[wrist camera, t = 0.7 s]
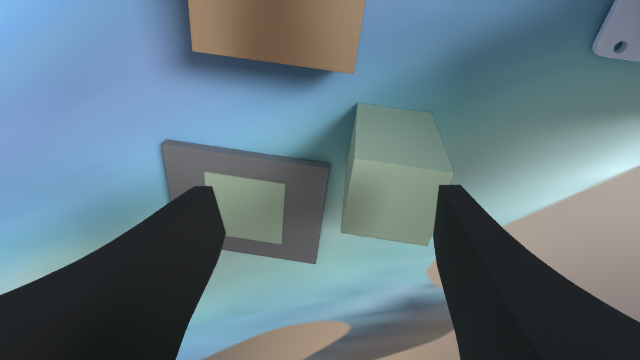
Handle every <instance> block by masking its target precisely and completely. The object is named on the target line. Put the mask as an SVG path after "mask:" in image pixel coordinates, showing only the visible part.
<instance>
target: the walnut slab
mask: <svg viewBox="0 0 640 360" xmlns="http://www.w3.org/2000/svg"><path fill="white" fill-rule="evenodd" d="M188 6H189V18H190V29H191V40H192V51H195V52H202V53H209V54H216V55H223V56H230V57H237V58H244V59H251V60H258V61H265V62H273V63H280V64H287V65H294V66H301V67H308V68H315V69H322V70H329V71H336V72H343V73H351V74H354V69H355V63H356V56H357V50H358V44H359V38H360V32H361V25H362V19H363V13H364V7H365V0H188Z"/></svg>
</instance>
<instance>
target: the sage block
mask: <svg viewBox="0 0 640 360" xmlns="http://www.w3.org/2000/svg"><path fill="white" fill-rule="evenodd" d="M453 176H454V170H453V168H452V165H451V162H450V160H449V157H448V154H447V151H446V149H445V146H444V143H443V141H442V138H441V135H440V133H439V130H438V127H437V124H436V122H435V119H434V116H433V114H432V113H428V112H421V111H414V110H407V109H400V108H393V107H386V106H379V105H372V104H365V103H358V104H357V109H356V115H355V121H354V127H353V132H352V138H351V144H350V150H349V155H348V161H347V168H346V180H345V191H344V202H343V213H342V225H341V233H345V234H352V235H358V236H365V237H372V238H378V239H385V240H391V241H398V242H404V243H411V244H417V245H424V246H428V243H429V240H430V238H431V235H432V232H433V230H434V224H435V215H436V206H437V198H438V189H439V185H450V184H451V181H452V179H453Z"/></svg>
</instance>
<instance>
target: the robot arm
mask: <svg viewBox="0 0 640 360" xmlns="http://www.w3.org/2000/svg"><path fill="white" fill-rule="evenodd" d="M620 41H622V46H621V47H620V48H619V49H618V50H616V51H614V50H613V49H614V46H615V45H616V44H617V43H619V42H620ZM592 49H593V52H594V53H595V54H597V55H599V56H601V57H607V58H614V59H622V60H629V61H636V62H640V0H615V1H614V3H613V5H612V7H611V9H610V11H609V13H608V15H607V17H606V19H605V21H604V23H603V25H602V27H601V29H600V31H599V33H598V35H597V37H596V39H595V41H594V43H593V46H592ZM225 236H226V231H225V228H224V224H223V221H222V217H221V214H220V211H219V207H218V204H217V200H216V197H215V193H214V190H213V187H212V186H194V187H192V188H191V189H189V190H187V191H186V192H184V193H183V194H181V195H180V196H178V197H177V198H175V199H174V200H173V201H171V202H170V203H168V204H167V205H165V206H164V207H163V208H161V209H160V210H158V211H157V212H155V213H154V214H153V215H151V216H150V217H148V218H147V219H145V220H144V221H142V222H141V223H139V224H138V225H136V226H135V227H133V228H132V229H130V230H129V231H127V232H125V233H124V234H122V235H121V236H119V237H118V238H116V239H115V240H113V241H111V242H110V243H108V244H106V245H105V246H103V247H101V248H99V249H98V250H96V251H94V252H92V253H90V254H89V255H87V256H85V257H83V258H81V259H79V260H77V261H75V262H74V263H72V264H69V265H67V266H65V267H63V268H61V269H59V270H57V271H55V272H53V273H50V274H48V275H46V276H44V277H42V278H40V279H38V280H36V281H33V282H31V283H29V284H26V285H24V286H22V287H19V288H17V289H14V290H12V291H9V292H7V293H4V294H2V295H0V360H176V357H177V354H178V351H179V348H180V345H181V343H182V340H183V337H184V334H185V331H186V329H187V326H188V324H189V322H190V319H191V317H192V315H193V313H194V311H195V309H196V306H197V304H198V302H199V300H200V298H201V296H202V294H203V292H204V290H205V287H206V285H207V283H208V281H209V279H210V277H211V275H212V272H213V270H214V268H215V266H216V264H217V261H218V259H219V256H220V253H221V249H222V246H223V243H224V239H225ZM433 239H434V247H435V255H436V261H437V267H438V270H439V274H440V278H441V282H442V286H443V290H444V293H445V297H446V301H447V304H448V308H449V312H450V315H451V319H452V323H453V326H454V330H455V334H456V338H457V343H458V348H459V354H460V359H461V360H640V322H638V321H636V320H634V319H632V318H630V317H629V316H627V315H625V314H623V313H622V312H620V311H618V310H616V309H615V308H613V307H611V306H609V305H608V304H606V303H604V302H602V301H601V300H599V299H598V298H596V297H594V296H593V295H591V294H590V293H588V292H587V291H585V290H583V289H582V288H580V287H578V286H577V285H575V284H574V283H572V282H571V281H569V280H568V279H566V278H565V277H563V276H562V275H561V274H559V273H558V272H557V271H555V270H553V269H552V268H551V267H550V266H548V265H547V264H546V263H544V262H543V261H541V260H540V259H539V258H537V257H536V256H535V255H534V254H532V253H531V252H530V251H528V250H527V249H526V248H525V247H524V246H523V245H521V244H520V243H519V242H518V241H517V240H515V239H514V238H513V237H512V236H511V235H510V234H509V233H508V232H506V231H505V230H504V229H503V228H502V227H501V226H500V225H499V224H498V223H497V222H496V221H495V220H494V219H493V218H492V217H491V216H490V215H489V214H488V213H487V212H486V211H485V210H484V209H483V208H482V207H481V206H480V205H479V204H478V203H477V202H476V201H475V200H474V199H473V198H472V197H471V196H470V194H469V193H468V192H467V191H466V190H465V189H464V188H463V187H462V186H461V185H439V189H438V198H437V206H436V215H435V224H434V232H433Z"/></svg>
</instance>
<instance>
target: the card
mask: <svg viewBox="0 0 640 360" xmlns="http://www.w3.org/2000/svg"><path fill="white" fill-rule="evenodd" d="M162 150H163V157H164V163H165V169H166V176H167V182H168V189H169V195H170V202H171V201H173V200H174V199H175V198H177V197H178V196H180V195H181V194H183V193H184V192H186V191H187V190H189V189H191V188H192V187H194V186H212V187H213V190H214V193H215V197H216V200H217V204H218V207H219V211H220V214H221V217H222V221H223V224H224V228H225V231H226V236H225V239H224V243H223V246H222V249H221V250H228V251H234V252H241V253H247V254H254V255H260V256H266V257H273V258H279V259H286V260H292V261H298V262H305V263H311V264H316V259H317V252H318V245H319V238H320V231H321V224H322V217H323V210H324V203H325V196H326V189H327V182H328V175H329V168H330V163H323V162H316V161H309V160H302V159H296V158H289V157H282V156H275V155H268V154H262V153H255V152H248V151H241V150H235V149H228V148H221V147H214V146H207V145H201V144H194V143H187V142H180V141H173V140H167V139H166V140H165V141H164V142H163V143H162Z"/></svg>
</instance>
